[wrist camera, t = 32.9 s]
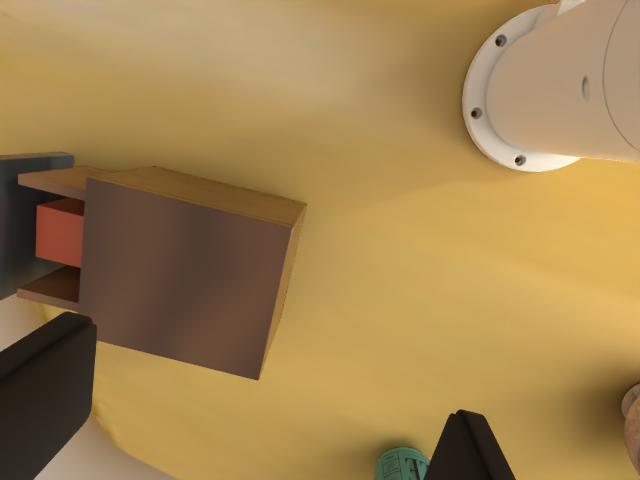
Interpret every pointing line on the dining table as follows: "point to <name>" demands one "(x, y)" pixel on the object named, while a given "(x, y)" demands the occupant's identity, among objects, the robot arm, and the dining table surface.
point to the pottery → (632, 424)
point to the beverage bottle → (401, 465)
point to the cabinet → (187, 266)
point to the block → (60, 231)
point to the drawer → (20, 226)
